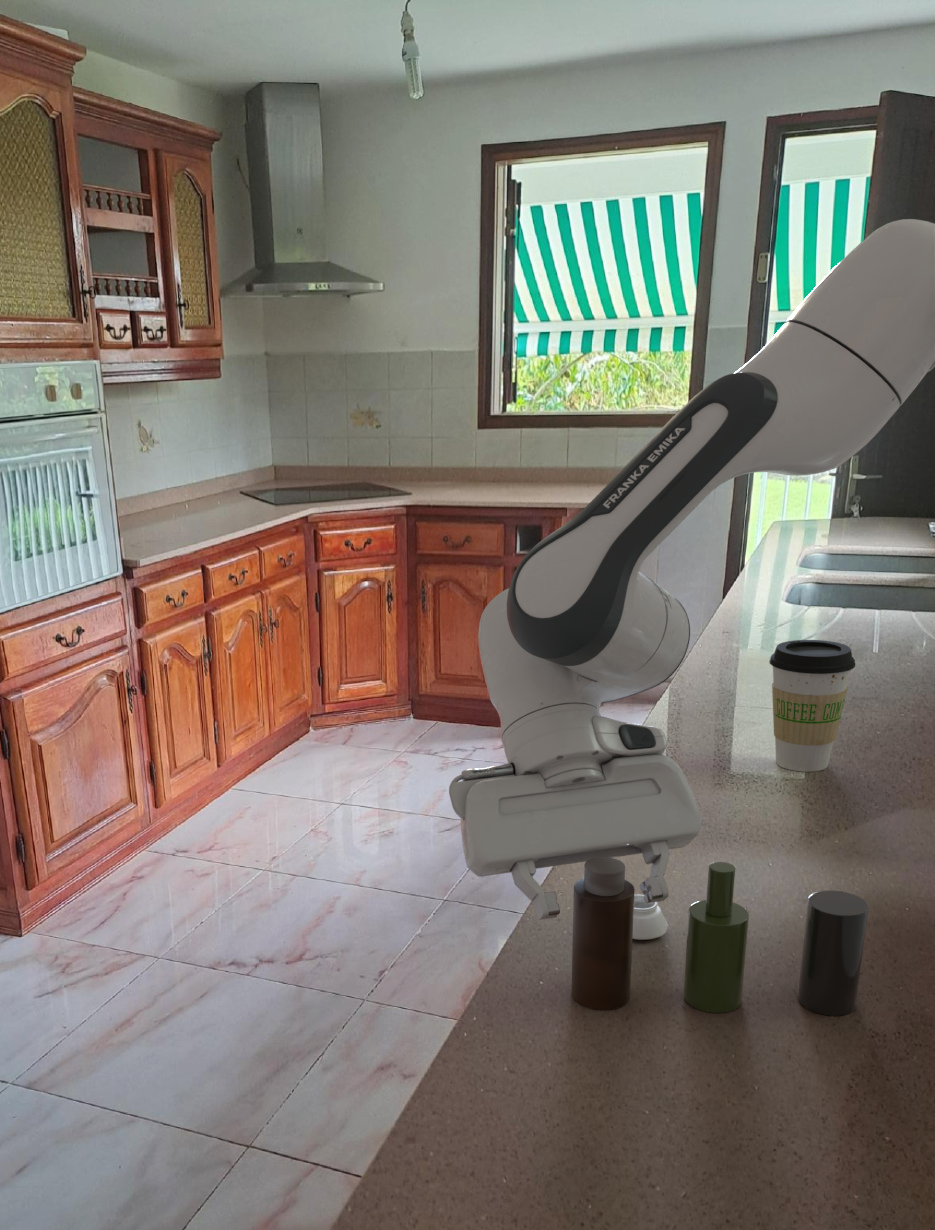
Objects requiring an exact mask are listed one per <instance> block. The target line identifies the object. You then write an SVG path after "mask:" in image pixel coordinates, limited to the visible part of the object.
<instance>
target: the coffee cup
mask: <svg viewBox="0 0 935 1230" xmlns="http://www.w3.org/2000/svg"><path fill="white" fill-rule="evenodd" d="M852 653H853V652H852V648H851V647H850V646H848V645H846V644H844V643H841V642H836V641H831V640H824V639H823V640H822V639H796V640H795V639H794V640H788V641H783V642H780V643H778V644H777V645H776V647H775V649H774V653H772V654H771V655H770V658H769V662H768V663H769V665H771V666H772V678H773V679H772V683H771V693H772V695H771V697H772V718H773V721H772V722H773V736H774V746H775V747H774V748H775V763H776V765H777V766H779V767H781V768H783V769H786V770H789V771H795V772H805V773H806V772H807V773H810V772H818V771H819V772H820V771H823V770H826V769H827V768H829V767H828V766H829V764H830V763H829V762H830V759H831V755H832V751H833V746H834V742H835V741H836V738H837V735H838V730H839V726H840V724H841V718H842V714H843V710H844V706H845V702H846V698H847V694H848V693H847V692H848V689H849V687H848V682H849V678H850V674H851V670H853V669H854V668H855V667H856V660H855V657H854V656H853V654H852Z"/></svg>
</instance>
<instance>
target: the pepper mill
mask: <svg viewBox="0 0 935 1230" xmlns="http://www.w3.org/2000/svg"><path fill="white" fill-rule="evenodd" d="M635 889H636V888H635V887H634V885H633V884H632V882H630V881H628V880H627V879H626V865H625V863H624V862H623V861H621V860H619V859H617V858H615V857H614V858H608V857H598V858H593V859H590V860H588V861H586V862H584V867H583V877H582V878H579V879H578V880H577V881H576V882H575V883H574V885H573V899H572V901H573V904H572V905H573V906H572V945H571V947H572V951H571V953H572V954H571V989H570V991H571V997H572V998H573V1000H574V1001H575V1002H576V1003H577V1004H579V1005H581V1006H583V1007H586V1008H588V1009H592V1010H598V1011H599V1010H600V1011H609V1010H616V1009H619V1008H622V1007H623V1006H625V1005H626V1004H628V1002H629V1000H630V999H631V980H632V979H631V978H632V977H631V976H632V960H633V959H632V958H633V939H632V937H633V914H634V895H635V892H636V890H635Z"/></svg>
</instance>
